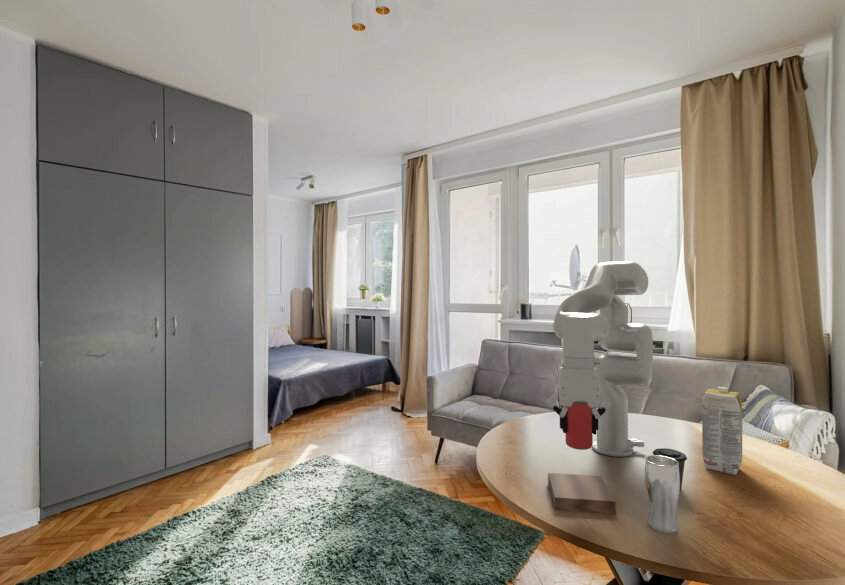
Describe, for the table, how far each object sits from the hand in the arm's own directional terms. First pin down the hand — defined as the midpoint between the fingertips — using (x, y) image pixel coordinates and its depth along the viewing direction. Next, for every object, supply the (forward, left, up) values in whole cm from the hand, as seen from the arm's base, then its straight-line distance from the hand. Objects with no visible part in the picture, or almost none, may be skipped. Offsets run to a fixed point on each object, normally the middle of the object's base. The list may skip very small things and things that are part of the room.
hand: (578, 431), depth 111 cm
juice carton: (-45, -24, -17) cm, 54 cm away
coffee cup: (-25, -9, -17) cm, 32 cm away
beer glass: (-16, +11, -17) cm, 26 cm away
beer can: (0, 0, -4) cm, 4 cm away
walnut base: (0, 0, -17) cm, 17 cm away
